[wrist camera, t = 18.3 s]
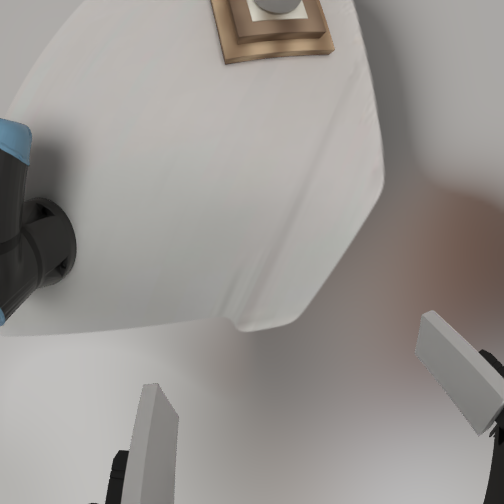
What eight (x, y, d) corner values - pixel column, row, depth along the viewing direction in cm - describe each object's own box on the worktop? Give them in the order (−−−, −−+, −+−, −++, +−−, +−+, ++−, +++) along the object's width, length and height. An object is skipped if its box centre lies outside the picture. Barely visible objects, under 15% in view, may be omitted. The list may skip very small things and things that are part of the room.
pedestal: (225, 64, 33) (226, 51, 28) (207, -14, 27) (206, -32, 22) (328, 54, 34) (343, 43, 28) (304, -21, 28) (314, -37, 23)
